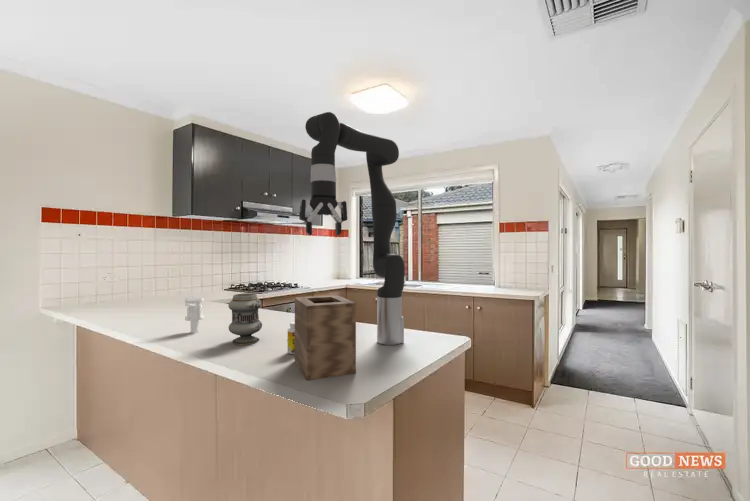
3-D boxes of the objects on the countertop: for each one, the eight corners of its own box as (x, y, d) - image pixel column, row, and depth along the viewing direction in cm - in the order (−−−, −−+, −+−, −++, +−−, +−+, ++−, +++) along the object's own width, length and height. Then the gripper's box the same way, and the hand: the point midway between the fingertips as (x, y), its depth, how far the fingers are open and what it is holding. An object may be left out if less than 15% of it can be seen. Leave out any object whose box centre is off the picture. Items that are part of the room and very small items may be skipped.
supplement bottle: (291, 355, 120) (290, 324, 120) (285, 351, 124) (285, 322, 124) (306, 353, 123) (306, 323, 123) (300, 349, 128) (300, 320, 127)
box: (337, 355, 120) (337, 295, 120) (355, 373, 103) (355, 302, 103) (294, 360, 115) (294, 297, 114) (306, 380, 98) (306, 306, 98)
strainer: (182, 332, 153) (182, 296, 153) (199, 329, 158) (199, 295, 158) (189, 335, 148) (189, 298, 148) (206, 331, 154) (206, 296, 153)
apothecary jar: (228, 339, 142) (228, 293, 141) (260, 336, 146) (260, 291, 146) (228, 347, 130) (228, 296, 130) (263, 343, 135) (263, 295, 135)
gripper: (342, 184, 116) (342, 235, 116) (297, 181, 110) (297, 235, 111) (349, 180, 109) (350, 234, 109) (302, 177, 103) (303, 234, 104)
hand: (323, 235), depth 110 cm, fingers open, 8 cm apart
